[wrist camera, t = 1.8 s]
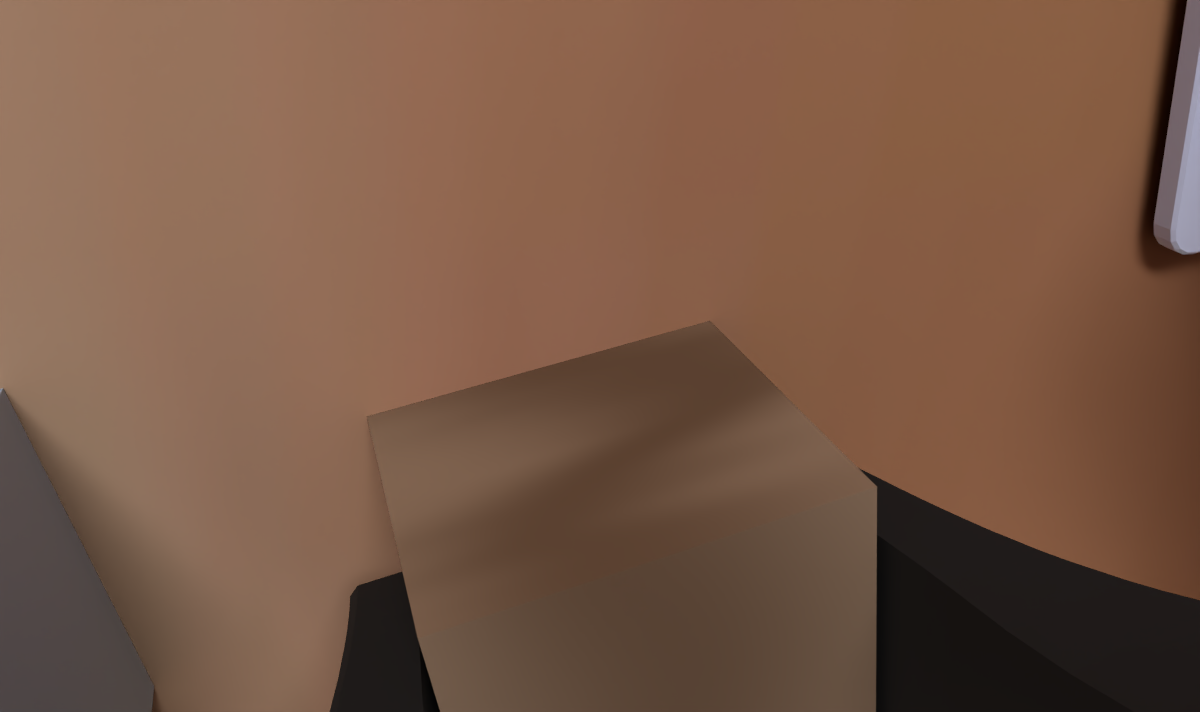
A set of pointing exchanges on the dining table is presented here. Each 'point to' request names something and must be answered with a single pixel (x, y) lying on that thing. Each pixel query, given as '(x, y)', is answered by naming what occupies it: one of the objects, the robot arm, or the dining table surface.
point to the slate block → (55, 601)
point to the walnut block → (633, 539)
